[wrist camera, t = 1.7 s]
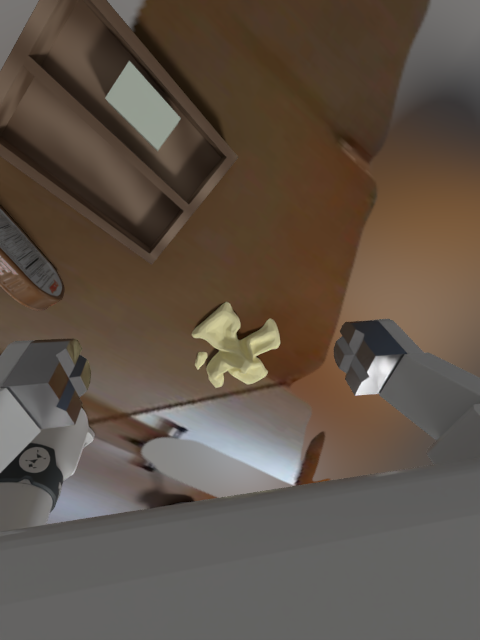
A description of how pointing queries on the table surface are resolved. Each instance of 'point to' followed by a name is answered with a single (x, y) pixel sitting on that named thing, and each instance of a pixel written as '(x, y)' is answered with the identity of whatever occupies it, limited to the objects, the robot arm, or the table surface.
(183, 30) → the table surface
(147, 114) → the sage block
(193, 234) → the table surface
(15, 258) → the tin
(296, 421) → the table surface
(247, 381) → the cloth
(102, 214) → the caddy
